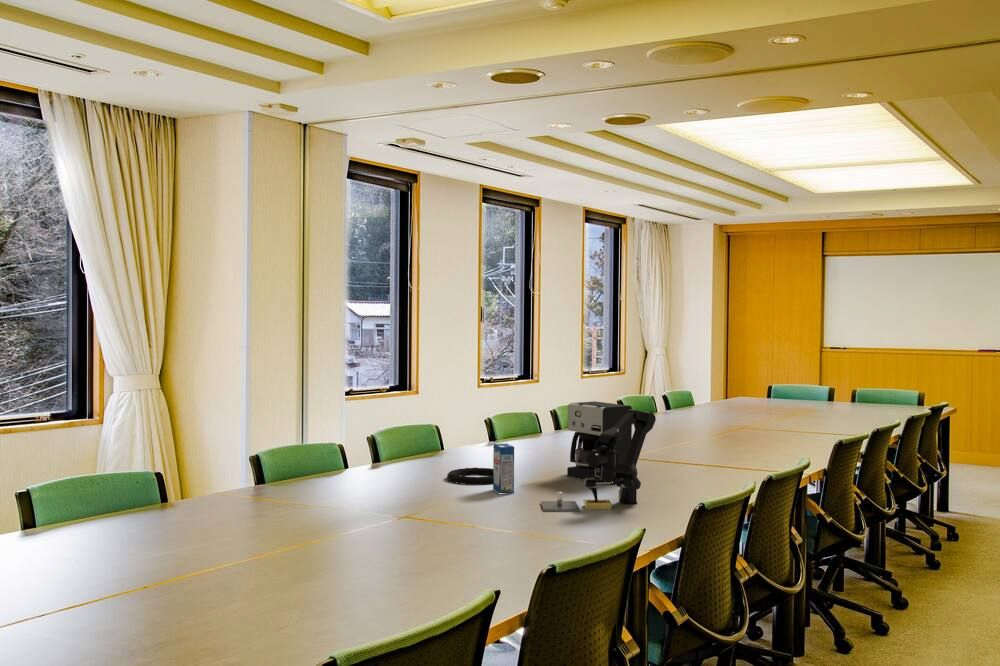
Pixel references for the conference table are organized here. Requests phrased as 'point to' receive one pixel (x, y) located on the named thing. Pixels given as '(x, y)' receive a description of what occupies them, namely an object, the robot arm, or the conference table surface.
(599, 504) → the yellow rectangular frame
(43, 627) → the conference table surface
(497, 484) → the milk carton
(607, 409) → the coffee maker
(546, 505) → the keeper plate
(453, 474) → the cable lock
